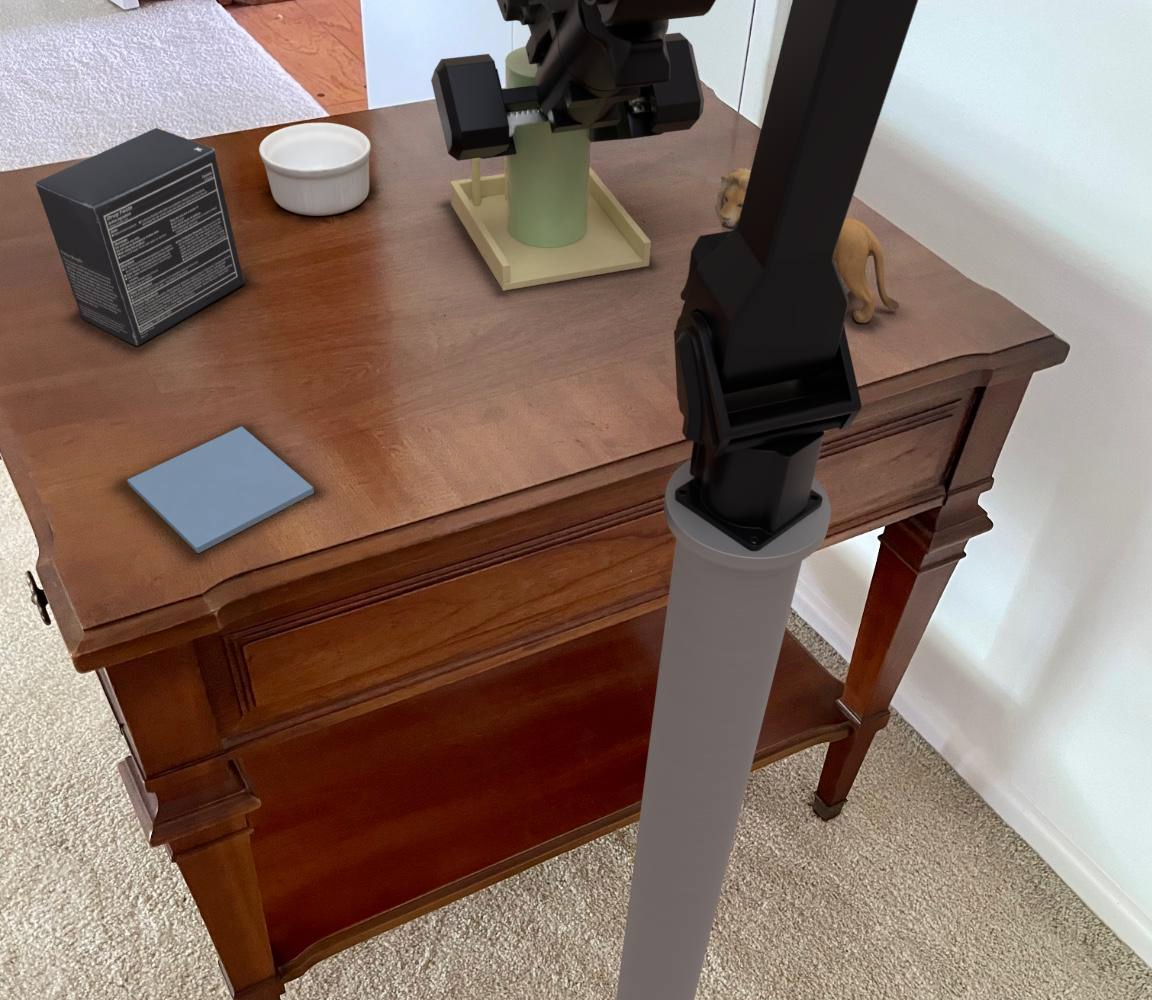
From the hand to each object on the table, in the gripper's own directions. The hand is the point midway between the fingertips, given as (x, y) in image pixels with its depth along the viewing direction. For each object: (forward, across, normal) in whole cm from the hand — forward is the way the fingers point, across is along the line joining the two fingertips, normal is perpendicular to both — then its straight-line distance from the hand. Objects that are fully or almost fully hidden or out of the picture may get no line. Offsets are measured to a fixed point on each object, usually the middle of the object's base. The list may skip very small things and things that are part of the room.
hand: (542, 141), depth 87 cm
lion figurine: (-6, -15, +16) cm, 23 cm away
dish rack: (+4, 0, +6) cm, 7 cm away
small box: (+4, +30, +7) cm, 31 cm away
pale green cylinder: (+4, 0, +6) cm, 7 cm away
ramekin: (+12, +16, -2) cm, 20 cm away
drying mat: (-12, +29, +22) cm, 39 cm away
